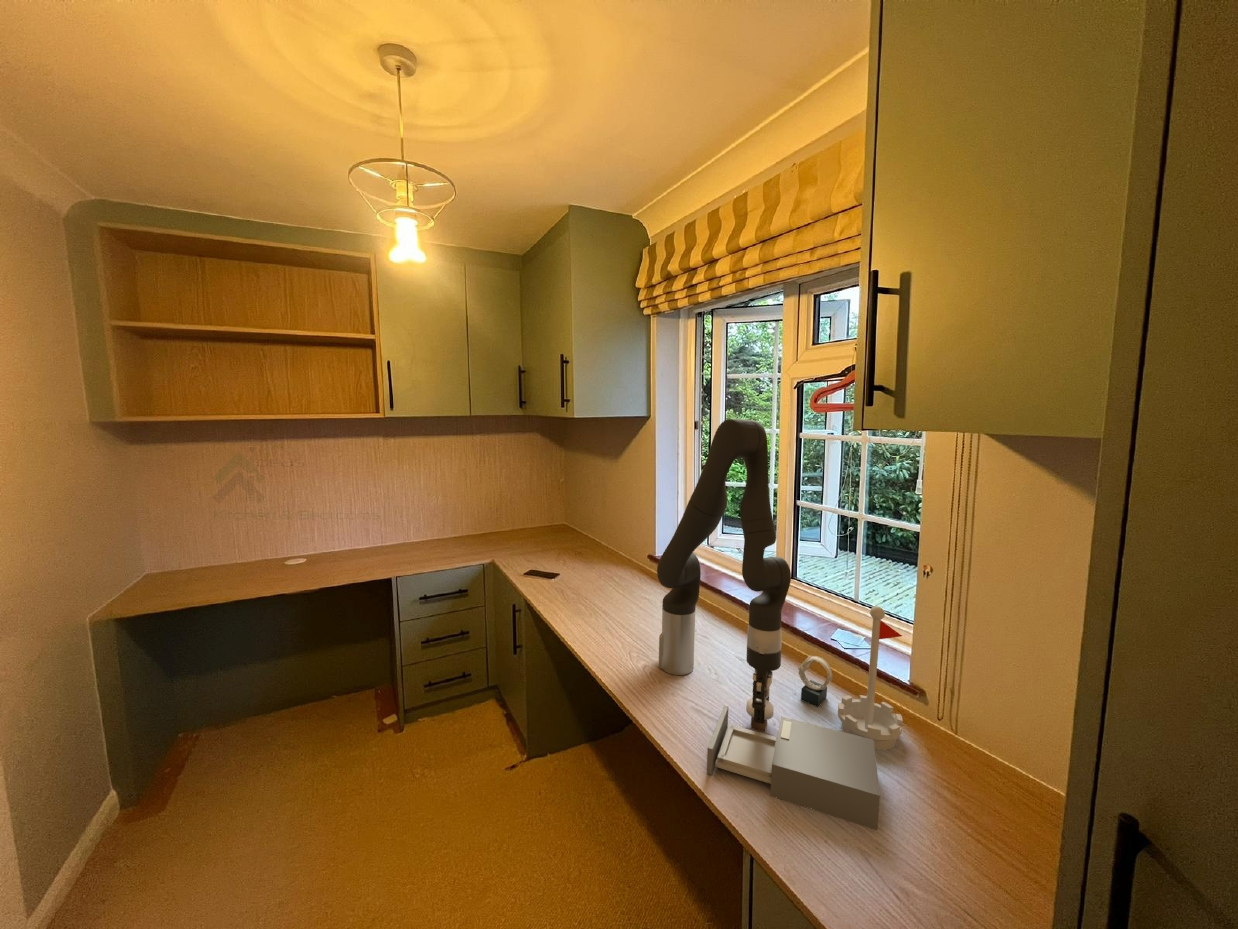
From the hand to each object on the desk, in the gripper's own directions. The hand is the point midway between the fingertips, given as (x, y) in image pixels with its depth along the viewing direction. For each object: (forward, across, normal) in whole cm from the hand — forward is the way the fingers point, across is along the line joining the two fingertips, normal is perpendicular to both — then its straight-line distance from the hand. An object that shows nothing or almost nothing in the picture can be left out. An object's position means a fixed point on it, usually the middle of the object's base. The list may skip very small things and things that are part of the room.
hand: (761, 711), depth 113 cm
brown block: (+4, 0, 0) cm, 4 cm away
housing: (+4, +12, +13) cm, 19 cm away
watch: (+4, -17, +11) cm, 20 cm away
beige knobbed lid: (0, 0, 0) cm, 0 cm away
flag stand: (+4, -8, +23) cm, 24 cm away
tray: (+3, +12, +1) cm, 13 cm away
